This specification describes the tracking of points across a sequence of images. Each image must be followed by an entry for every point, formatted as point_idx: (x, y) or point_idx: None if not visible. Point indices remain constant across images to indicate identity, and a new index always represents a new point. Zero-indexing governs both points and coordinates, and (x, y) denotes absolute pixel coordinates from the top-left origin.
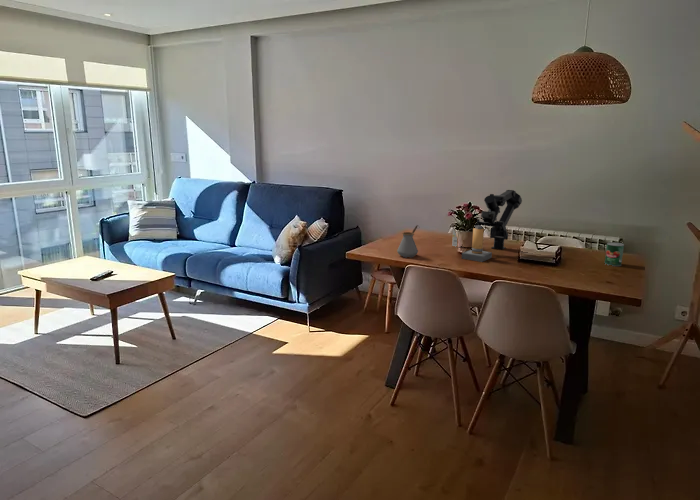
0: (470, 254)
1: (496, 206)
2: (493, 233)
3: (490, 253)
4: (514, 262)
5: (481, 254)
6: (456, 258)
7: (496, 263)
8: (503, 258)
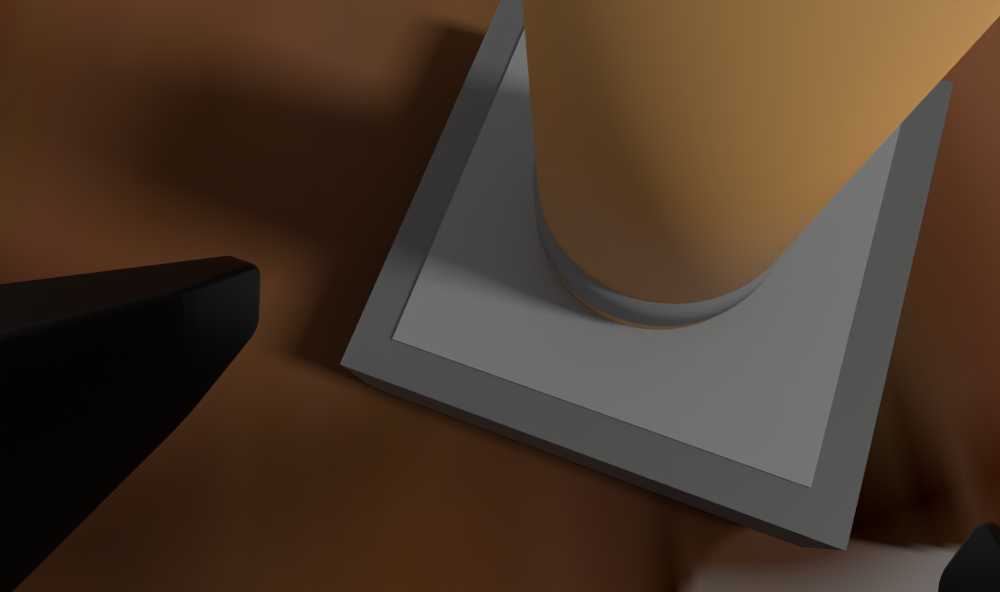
0: None
1: None
2: (15, 297)
3: (372, 297)
4: (18, 192)
5: None
6: (989, 116)
7: (301, 42)
8: None
